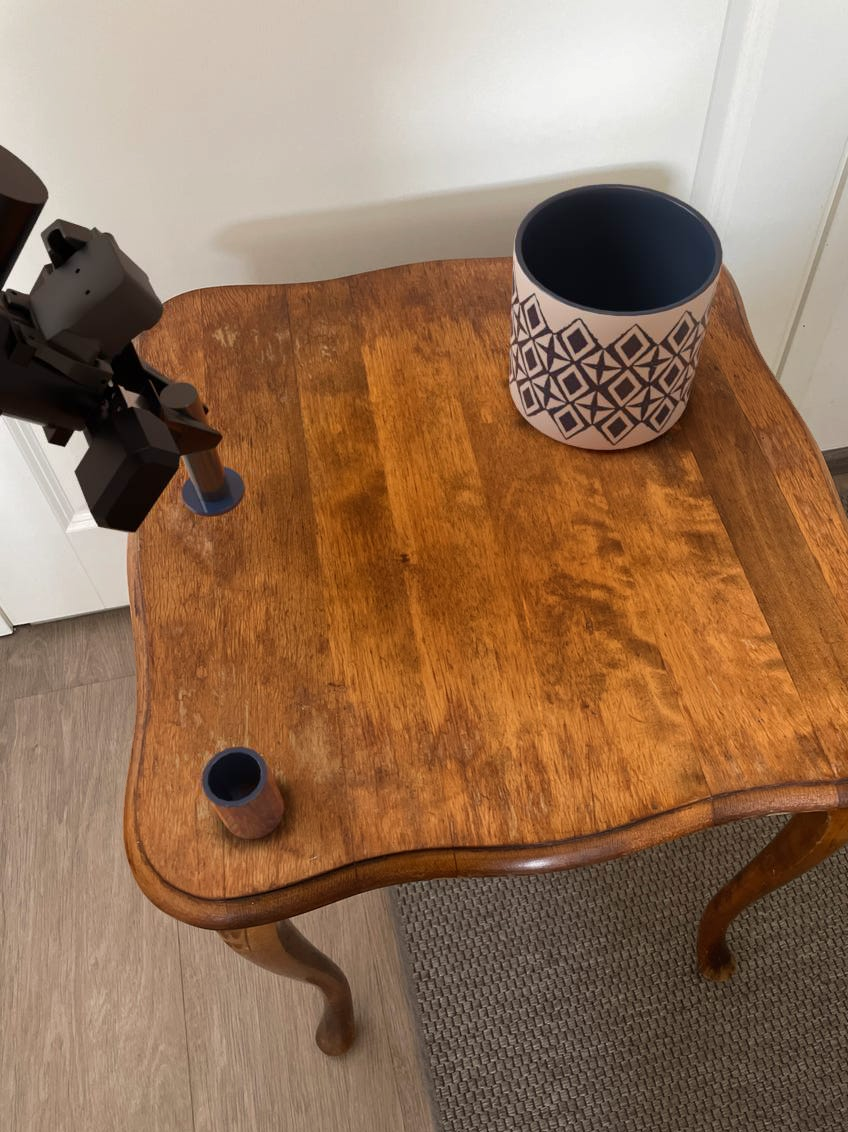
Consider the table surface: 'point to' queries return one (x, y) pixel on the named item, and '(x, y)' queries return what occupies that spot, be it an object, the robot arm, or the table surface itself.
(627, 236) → the planter
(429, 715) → the table surface
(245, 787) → the tin
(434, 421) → the table surface
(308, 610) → the table surface
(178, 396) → the rod with blue collar
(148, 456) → the robot arm
